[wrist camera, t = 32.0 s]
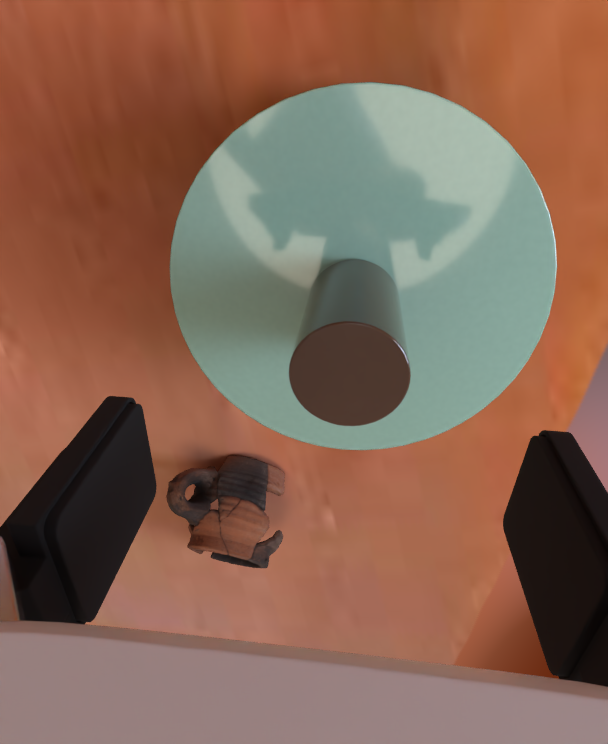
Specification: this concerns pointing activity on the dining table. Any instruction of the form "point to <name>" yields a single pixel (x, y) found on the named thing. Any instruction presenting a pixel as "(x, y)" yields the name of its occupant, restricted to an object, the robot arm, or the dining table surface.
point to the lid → (363, 266)
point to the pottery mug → (229, 509)
